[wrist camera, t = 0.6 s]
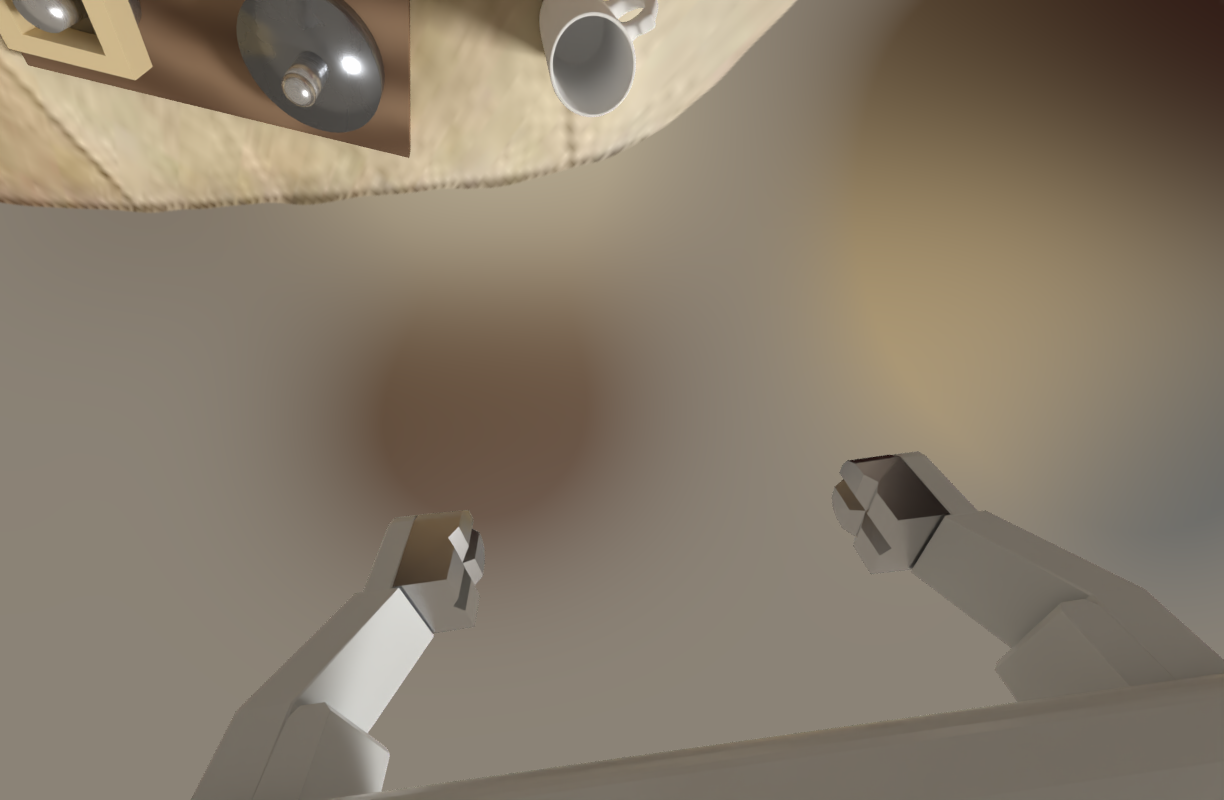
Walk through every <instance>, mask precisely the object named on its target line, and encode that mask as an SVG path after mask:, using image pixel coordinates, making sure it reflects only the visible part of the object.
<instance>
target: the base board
mask: <svg viewBox="0 0 1224 800" xmlns="http://www.w3.org/2000/svg"><path fill="white" fill-rule="evenodd" d="M244 1H245V0H139V2H140V5H141V20H140V22H139V24H138V28H139V31H140V34H141V36H142V39H143V42H144V44H145V47H146V50H147V53H148V55H149V58H150V61H151V63H152V66H153V67H152V68H151V69H149V70H148V71H147V72H146V73H144V74H143V75H142V76H141V77H139V78H138V79H137V80H132V79H128V78H124V77H120V76H116V75H112V74H108V73H104V72H100V71H96V70H92V69H88V68H84V67H80V66H76V65H72V64H68V63H64V62H60V61H56V60H52V59H48V58H44V57H40V56H36V55H32V54H28V53H24V52H21V53H22V55H23V57H24V58H25V60H26V62H27V64H28V65H30V66H34V67H38V68H42V69H46V70H50V71H54V72H58V73H62V74H67V75H71V76H75V77H79V78H83V79H87V80H91V81H95V82H99V83H104V84H108V85H112V86H116V87H120V88H124V89H128V90H132V91H136V92H141V93H145V94H149V95H153V96H157V97H161V98H165V99H169V100H174V101H178V102H182V103H186V104H190V105H194V106H198V107H202V108H206V109H211V110H215V111H219V112H223V113H227V114H231V115H235V116H239V117H243V118H248V119H252V120H256V121H260V122H264V123H268V124H272V125H276V126H280V127H285V128H289V129H293V130H297V131H301V132H305V133H309V134H313V135H317V136H322V137H326V138H330V139H334V140H338V141H342V142H346V143H350V144H354V145H359V146H363V147H367V148H371V149H375V150H379V151H383V152H387V153H392V154H396V155H400V156H404V157H408V158H409V156H410V0H344V1H345V2H346V3H348V4H349V5H350V6H351V7H352V8H353V9H354V10H355V11H356V13H357V14H358V15H359V16H360V17H361V19H362V20H363V21H364V22H365V24H366V25H367V27H368V28H369V30H370V32H371V33H372V35H373V37H374V39H375V41H376V43H377V45H378V47H379V50H380V53H381V56H382V60H383V65H384V72H385V83H384V89H383V93H382V96H381V99H380V102H379V105H378V108H377V111H376V112H375V114H374V116H373V117H372V119H371V120H370V121H369V122H368V123H367V124H365V125H364V126H362V127H361V128H359V129H356V130H354V131H349V132H342V133H335V132H327V131H322V130H319V129H315V128H313V127H310V126H308V125H305V124H303V123H301V122H300V121H298V120H296V119H294V118H293V117H291V116H290V115H288V114H287V113H285V112H284V111H283V110H282V109H280V108H279V107H278V106H277V105H276V104H275V103H273V102H272V101H271V100H270V99H269V98H268V96H267V95H266V94H265V93H264V92H263V91H262V90H261V88H260V87H259V86H258V85H257V83H256V82H255V80H254V79H253V77H252V76H251V74H250V72H249V70H248V69H247V67H246V65H245V62H244V60H243V58H242V55H241V52H240V49H239V46H238V40H237V29H236V25H237V17H238V14H239V11H240V8H241V6H242V5H243V3H244Z"/></svg>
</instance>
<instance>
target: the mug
mask: <svg viewBox="0 0 1224 800" xmlns="http://www.w3.org/2000/svg"><path fill="white" fill-rule="evenodd" d="M637 8H644V9H643V10H642V11H641V12H640V13H639V14H638V15H637V16H636V17H634V18H633V19H631V20H630V21H627V22H620V21H619V20H618V18H620V17H621V16H623V15H624V14H626V13H627V12H630V11H632V10H634V9H637ZM657 12H658V2H657V0H609V1H603V0H543V3H542V6H541V10H540V17H539V25H540V33H541V39H542V43H543V47H544V52H545V56H546V60H547V65H548V69H549V73H550V78H551V82H552V86H553V88H554V91H555V93H556V95H557V97H558V98H559V100H560V101H561V102H562V103H563V104H564V105H565V106H566V107H567V108H568V109H569V110H571V111H572V112H574V113H576V114H578V115H581V116H585V117H598V116H602V115H605V114H607V113H609V112H611V111H613V110H614V109H615V108H617V107H618V106H619V105H620V104H621V103H622V101H623V100H624V99H625V97H626V96H627V94H628V93H629V91H630V88H631V86H632V83H633V80H634V76H635V70H636V56H635V49H634V45H633V41H634V40H635V39H636V38H637V37H638V36H640V35H643V34H646V33H647V32H649V31H651V30H652V29H654V28H655V26H656V23H655V20H656V16H657Z"/></svg>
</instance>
